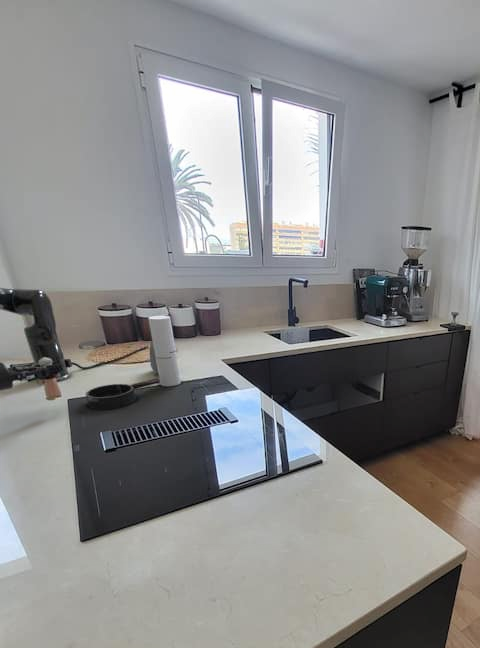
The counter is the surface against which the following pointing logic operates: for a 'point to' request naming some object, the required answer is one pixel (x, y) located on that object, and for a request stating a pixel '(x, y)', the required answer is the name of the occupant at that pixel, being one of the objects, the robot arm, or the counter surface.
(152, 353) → the decorative rock
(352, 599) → the counter surface
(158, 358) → the cylindrical container
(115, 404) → the pan
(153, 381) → the pan handle
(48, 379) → the grandmother figurine
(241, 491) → the counter surface
